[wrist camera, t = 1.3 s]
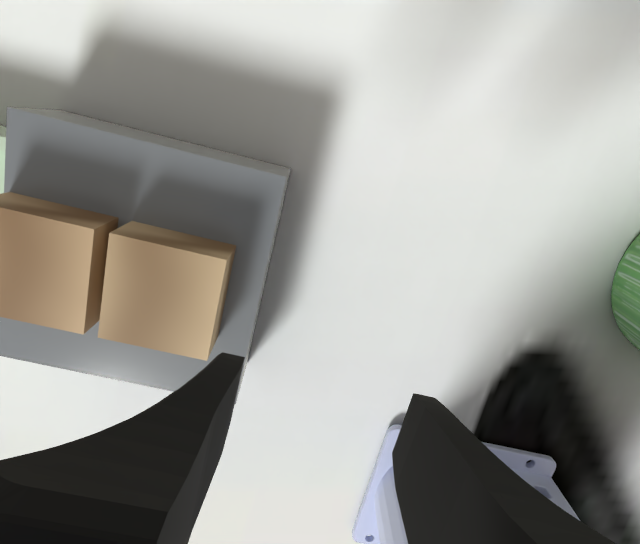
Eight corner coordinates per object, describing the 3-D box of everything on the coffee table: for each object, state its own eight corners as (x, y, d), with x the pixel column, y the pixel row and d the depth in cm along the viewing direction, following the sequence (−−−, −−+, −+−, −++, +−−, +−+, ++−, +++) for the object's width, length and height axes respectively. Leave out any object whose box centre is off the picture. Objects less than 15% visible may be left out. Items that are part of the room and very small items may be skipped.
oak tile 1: (236, 245, 17) (226, 260, 16) (217, 336, 19) (207, 360, 17) (131, 220, 17) (109, 232, 15) (120, 315, 18) (97, 337, 16)
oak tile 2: (118, 217, 17) (94, 229, 15) (107, 312, 18) (83, 334, 16) (9, 191, 17) (-30, 200, 15) (5, 290, 18) (-32, 310, 16)
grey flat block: (291, 168, 20) (286, 176, 17) (246, 363, 23) (235, 404, 20) (60, 109, 19) (7, 106, 16) (45, 320, 22) (-3, 355, 19)
